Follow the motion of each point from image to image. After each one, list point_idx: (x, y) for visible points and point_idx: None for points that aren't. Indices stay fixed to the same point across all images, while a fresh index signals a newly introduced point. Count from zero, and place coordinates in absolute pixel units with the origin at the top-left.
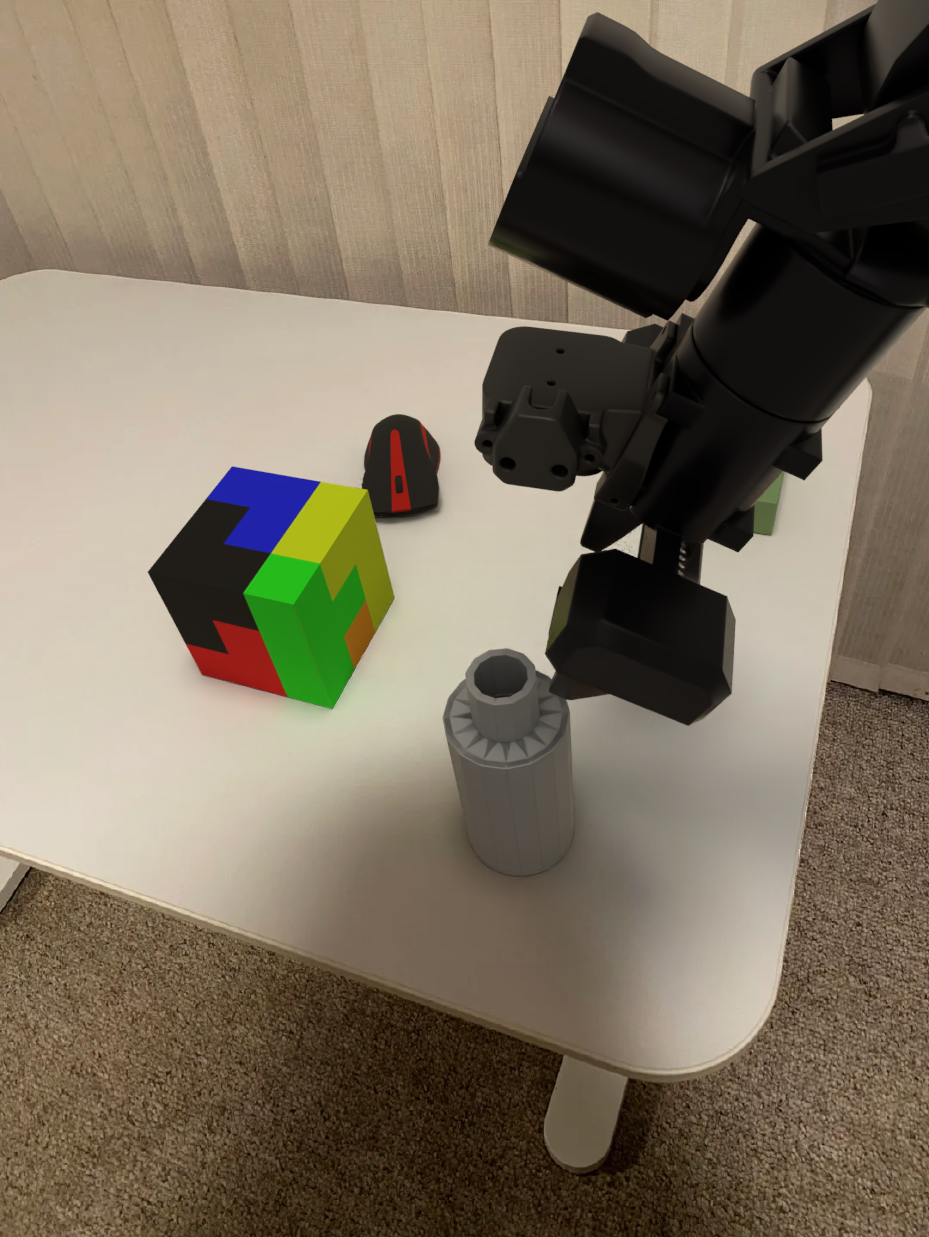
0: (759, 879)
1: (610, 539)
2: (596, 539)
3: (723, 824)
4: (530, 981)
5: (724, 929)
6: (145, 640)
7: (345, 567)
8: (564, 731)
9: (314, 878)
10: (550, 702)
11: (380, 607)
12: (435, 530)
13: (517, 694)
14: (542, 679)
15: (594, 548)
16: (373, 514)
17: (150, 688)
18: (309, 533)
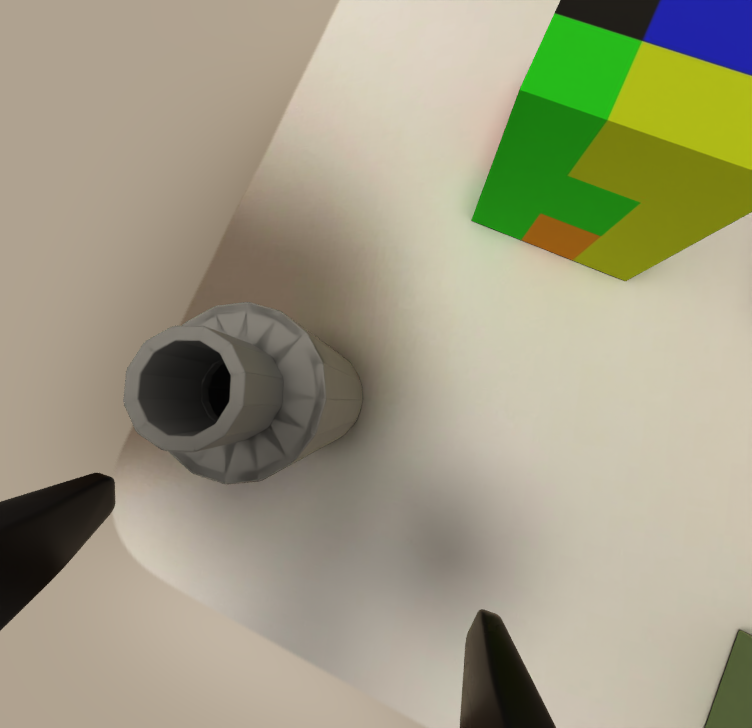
0: (236, 598)
1: (464, 701)
2: (473, 663)
3: (291, 582)
4: None
5: (199, 554)
6: None
7: (626, 182)
8: (192, 471)
9: (292, 217)
10: (244, 458)
11: (603, 262)
12: (743, 331)
13: (137, 413)
14: (288, 452)
15: (469, 638)
16: (743, 215)
17: (521, 38)
18: (685, 96)
